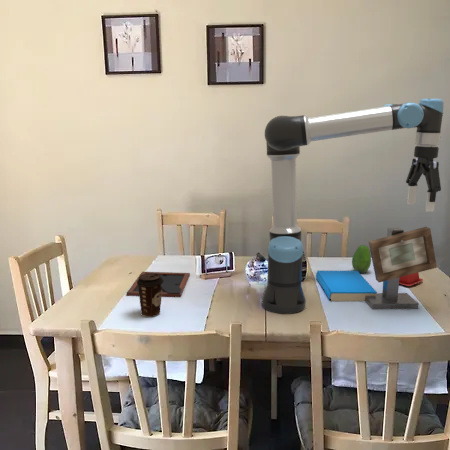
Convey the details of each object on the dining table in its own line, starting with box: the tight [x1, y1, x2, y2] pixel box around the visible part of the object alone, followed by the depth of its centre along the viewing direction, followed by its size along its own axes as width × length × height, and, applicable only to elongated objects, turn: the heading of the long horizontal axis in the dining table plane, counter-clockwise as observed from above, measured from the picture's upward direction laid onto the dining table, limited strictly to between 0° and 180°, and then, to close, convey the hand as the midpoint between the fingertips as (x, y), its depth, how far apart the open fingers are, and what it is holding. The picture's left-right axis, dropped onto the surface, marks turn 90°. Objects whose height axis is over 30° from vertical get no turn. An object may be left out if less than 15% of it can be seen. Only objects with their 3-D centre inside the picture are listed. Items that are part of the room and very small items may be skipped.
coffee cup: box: [137, 273, 163, 318], centre depth 157 cm, size 9×8×13 cm
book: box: [315, 270, 378, 302], centre depth 182 cm, size 17×4×25 cm
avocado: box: [351, 244, 372, 274], centre depth 202 cm, size 8×8×12 cm
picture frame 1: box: [126, 271, 191, 298], centre depth 185 cm, size 20×2×25 cm
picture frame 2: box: [368, 226, 438, 283], centre depth 160 cm, size 20×4×14 cm, turn 92°
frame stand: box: [364, 227, 420, 310], centre depth 165 cm, size 16×10×27 cm, turn 92°
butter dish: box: [399, 272, 424, 287], centre depth 190 cm, size 12×12×8 cm
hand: (419, 207), depth 165 cm, fingers open, 13 cm apart
